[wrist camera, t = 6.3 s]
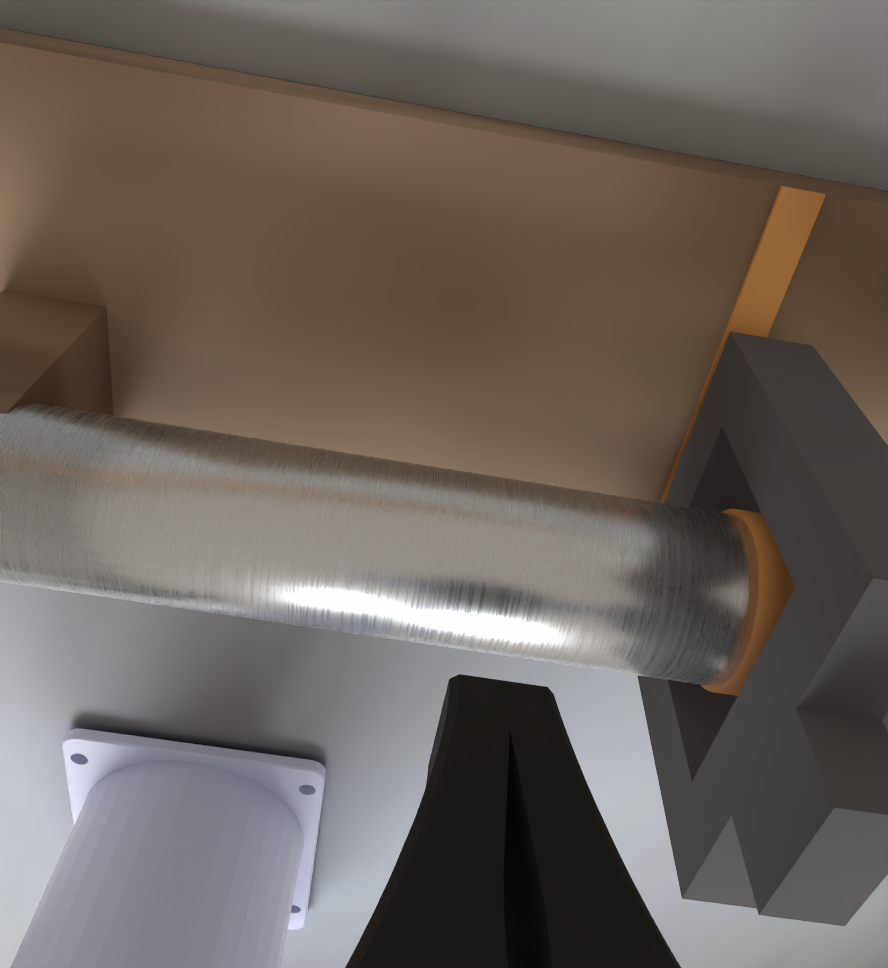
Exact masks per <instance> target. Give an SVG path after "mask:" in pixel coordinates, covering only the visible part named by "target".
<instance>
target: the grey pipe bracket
mask: <svg viewBox="0 0 888 968" xmlns="http://www.w3.org/2000/svg"><path fill="white" fill-rule="evenodd" d="M664 503H665V504H671V505H677V506H684V507H690V508H696V509H703V510H709V511H715V512H723V511H725V510H727V509H739V510H745V511H752V512H758V513H762V515H763V517H764V519H765V521H766V523H767V526H768V528H769V530H770V532H771V534H772V537H773V539H774V541H775V543H776V545H777V547H778V550H779V552H780V554H781V556H782V558H783V561H784V563H785V565H786V567H787V569H788V571H789V574H790V576H791V578H792V580H793V582H794V584H795V589H794V591H793V593H792V595H791V597H790V599H789V601H788V602H787V604H786V606H785V608H784V610H783V612H782V614H781V616H780V617H779V619H778V621H777V623H776V625H775V627H774V629H773V631H772V632H771V634H770V636H769V638H768V640H767V642H766V644H765V646H764V648H763V649H762V651H761V653H760V655H759V657H758V659H757V661H756V663H755V664H754V666H753V668H752V670H751V672H750V674H749V676H748V678H747V679H746V681H745V683H744V685H743V687H742V689H741V691H740V693H739V694H738V696H735V695H728V694H722V693H715V692H710V691H707V690H706V689H704V688H703V687H702V686H701V685H700V684H694V683H687V682H681V681H674V680H667V679H660V678H653V677H647V676H640V675H638V680H639V685H640V690H641V695H642V700H643V705H644V710H645V715H646V720H647V725H648V730H649V735H650V740H651V745H652V750H653V755H654V760H655V765H656V770H657V775H658V780H659V785H660V790H661V795H662V800H663V805H664V810H665V815H666V820H667V825H668V830H669V835H670V840H671V845H672V850H673V855H674V860H675V865H676V870H677V875H678V880H679V885H680V890H681V895H682V899H690V900H698V901H705V902H713V903H720V904H728V905H736V906H743V907H751V908H757V910H758V914H759V915H764V916H772V917H779V918H787V919H795V920H802V921H810V922H818V923H825V924H833V925H841V926H845V925H846V924H847V923H848V922H849V920H850V919H851V918H852V917H853V915H854V914H855V913H856V912H857V911H858V909H859V908H860V907H861V906H862V905H863V903H864V902H865V901H866V900H867V899H868V897H869V896H870V895H871V894H872V892H873V891H874V890H875V889H876V888H877V886H878V885H879V884H880V883H881V882H882V880H883V879H884V878H885V877H886V876H887V874H888V445H887V444H886V443H885V441H884V440H883V439H882V437H881V436H880V435H879V433H878V432H877V431H876V429H875V428H874V427H873V425H872V424H871V423H870V421H869V420H868V419H867V417H866V416H865V415H864V413H863V412H862V411H861V409H860V408H859V407H858V405H857V404H856V403H855V401H854V400H853V399H852V397H851V396H850V395H849V393H848V392H847V391H846V389H845V388H844V387H843V385H842V384H841V383H840V381H839V380H838V379H837V377H836V376H835V375H834V373H833V372H832V371H831V369H830V368H829V367H828V365H827V364H826V363H825V361H824V360H823V359H822V357H821V356H820V355H819V353H818V352H817V351H816V349H815V348H814V347H813V346H812V345H806V344H800V343H795V342H789V341H783V340H777V339H771V338H766V337H760V336H754V335H748V334H742V333H737V332H731V331H730V332H729V335H728V338H727V340H726V343H725V345H724V348H723V351H722V353H721V356H720V358H719V361H718V364H717V366H716V369H715V371H714V374H713V377H712V379H711V382H710V384H709V387H708V390H707V392H706V395H705V397H704V400H703V403H702V405H701V408H700V410H699V413H698V416H697V418H696V421H695V423H694V426H693V428H692V431H691V434H690V436H689V439H688V441H687V444H686V447H685V449H684V452H683V454H682V457H681V460H680V462H679V465H678V467H677V470H676V473H675V475H674V478H673V480H672V483H671V486H670V488H669V491H668V493H667V496H666V499H665V501H664Z"/></svg>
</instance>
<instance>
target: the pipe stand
mask: <svg viewBox="0 0 888 968" xmlns="http://www.w3.org/2000/svg"><path fill="white" fill-rule="evenodd" d="M730 331H731V332H737V333H742V334H748V335H754V336H760V337H766V338H771V339H777V340H783V341H789V342H795V343H800V344H806V345H812V346H813V347H814V348H815V349H816V351H817V352H818V353H819V355H820V356H821V357H822V359H823V360H824V361H825V363H826V364H827V365H828V367H829V368H830V369H831V371H832V372H833V373H834V375H835V376H836V377H837V379H838V380H839V381H840V383H841V384H842V385H843V387H844V388H845V389H846V391H847V392H848V393H849V395H850V396H851V397H852V399H853V400H854V401H855V403H856V404H857V405H858V407H859V408H860V409H861V411H862V412H863V413H864V415H865V416H866V417H867V419H868V420H869V421H870V423H871V424H872V425H873V427H874V428H875V429H876V431H877V432H878V433H879V435H880V436H881V437H882V439H883V440H884V441H885V443H886V444H887V445H888V192H887V191H881V190H876V189H870V188H865V187H860V186H854V185H849V184H843V183H838V182H833V181H827V180H822V179H816V178H811V177H805V176H800V175H795V174H789V173H784V172H778V171H773V170H768V169H762V168H757V167H751V166H746V165H740V164H735V163H730V162H724V161H719V160H713V159H708V158H703V157H697V156H692V155H686V154H681V153H675V152H670V151H665V150H659V149H654V148H648V147H643V146H638V145H632V144H627V143H621V142H616V141H611V140H605V139H600V138H594V137H589V136H583V135H578V134H573V133H567V132H562V131H556V130H551V129H546V128H540V127H535V126H529V125H524V124H518V123H513V122H508V121H502V120H497V119H491V118H486V117H481V116H475V115H470V114H464V113H459V112H453V111H448V110H443V109H437V108H432V107H426V106H421V105H416V104H410V103H405V102H399V101H394V100H388V99H383V98H378V97H372V96H367V95H361V94H356V93H351V92H345V91H340V90H334V89H329V88H323V87H318V86H313V85H307V84H302V83H296V82H291V81H286V80H280V79H275V78H269V77H264V76H259V75H253V74H248V73H242V72H237V71H231V70H226V69H221V68H215V67H210V66H204V65H199V64H194V63H188V62H183V61H177V60H172V59H166V58H161V57H156V56H150V55H145V54H139V53H134V52H129V51H123V50H118V49H112V48H107V47H101V46H96V45H91V44H85V43H80V42H74V41H69V40H64V39H58V38H53V37H47V36H42V35H36V34H31V33H26V32H20V31H15V30H9V29H4V28H0V582H5V583H12V584H19V585H26V586H32V587H39V588H46V589H53V590H60V591H67V592H73V593H80V594H87V595H94V596H101V597H108V598H114V599H121V600H128V601H135V602H142V603H148V604H155V605H162V606H169V607H176V608H183V609H189V610H196V611H203V612H210V613H217V614H224V615H230V616H237V617H244V618H251V619H258V620H264V621H271V622H278V623H285V624H292V625H299V626H305V627H312V628H319V629H326V630H333V631H340V632H346V633H353V634H360V635H367V636H374V637H380V638H387V639H394V640H401V641H408V642H415V643H421V644H428V645H435V646H442V647H449V648H456V649H462V650H469V651H476V652H483V653H490V654H496V655H503V656H510V657H517V658H524V659H531V660H537V661H544V662H551V663H558V664H565V665H571V666H578V667H585V668H592V669H599V670H606V671H612V672H619V673H626V674H633V675H640V676H647V677H653V678H660V679H667V680H674V681H681V682H687V683H694V684H700V685H701V686H702V687H703V688H704V689H706V690H707V691H710V692H715V693H722V694H728V695H735V696H738V694H739V693H740V691H741V689H742V687H743V685H744V683H745V681H746V679H747V678H748V676H749V674H750V672H751V670H752V668H753V666H754V664H755V663H756V661H757V659H758V657H759V655H760V653H761V651H762V649H763V648H764V646H765V644H766V642H767V640H768V638H769V636H770V634H771V632H772V631H773V629H774V627H775V625H776V623H777V621H778V619H779V617H780V616H781V614H782V612H783V610H784V608H785V606H786V604H787V602H788V601H789V599H790V597H791V595H792V593H793V591H794V589H795V584H794V582H793V580H792V578H791V576H790V574H789V571H788V569H787V567H786V565H785V563H784V561H783V558H782V556H781V554H780V552H779V550H778V547H777V545H776V543H775V541H774V539H773V537H772V534H771V532H770V530H769V528H768V526H767V523H766V521H765V519H764V517H763V515H762V513H758V512H752V511H745V510H739V509H727V510H725V511H723V512H715V511H709V510H703V509H696V508H690V507H684V506H677V505H671V504H665V503H664V501H665V499H666V496H667V493H668V491H669V488H670V486H671V483H672V480H673V478H674V475H675V473H676V470H677V467H678V465H679V462H680V460H681V457H682V454H683V452H684V449H685V447H686V444H687V441H688V439H689V436H690V434H691V431H692V428H693V426H694V423H695V421H696V418H697V416H698V413H699V410H700V408H701V405H702V403H703V400H704V397H705V395H706V392H707V390H708V387H709V384H710V382H711V379H712V377H713V374H714V371H715V369H716V366H717V364H718V361H719V358H720V356H721V353H722V351H723V348H724V345H725V343H726V340H727V338H728V335H729V332H730Z"/></svg>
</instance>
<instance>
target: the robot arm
mask: <svg viewBox="0 0 888 968" xmlns="http://www.w3.org/2000/svg"><path fill="white" fill-rule="evenodd" d="M62 749H63V756H64V763H65V770H66V777H67V784H68V791H69V798H70V805H71V812H72V818H73V825H74V827H73V829H72V832H71V834H70V836H69V838H68V841H67V843H66V845H65V847H64V849H63V852H62V854H61V856H60V858H59V861H58V863H57V865H56V867H55V870H54V872H53V874H52V876H51V879H50V881H49V883H48V885H47V887H46V890H45V892H44V894H43V896H42V899H41V901H40V903H39V905H38V908H37V910H36V912H35V914H34V917H33V919H32V921H31V923H30V925H29V928H28V930H27V932H26V934H25V937H24V939H23V941H22V943H21V946H20V948H19V950H18V952H17V955H16V957H15V959H14V961H13V963H12V966H11V968H280V965H281V960H282V954H283V949H284V944H285V939H286V934H287V930H299V929H301V928H303V927H304V926H305V924H306V918H307V911H308V904H309V896H310V889H311V881H312V874H313V867H314V859H315V852H316V844H317V837H318V829H319V822H320V815H321V807H322V800H323V792H324V785H325V778H326V769H325V767H324V766H323V765H322V764H320V763H319V762H317V761H313V760H308V759H300V758H293V757H286V756H279V755H271V754H264V753H257V752H249V751H242V750H235V749H228V748H220V747H213V746H206V745H198V744H191V743H184V742H177V741H169V740H162V739H155V738H147V737H140V736H133V735H126V734H118V733H111V732H104V731H96V730H89V729H79V728H76V729H72V730H70V731H69V732H68V733H67V734H66V736H65V738H64V740H63V742H62ZM346 968H681V967H680V965H679V964H678V962H677V960H676V959H675V957H674V955H673V953H672V952H671V950H670V948H669V947H668V945H667V943H666V941H665V940H664V938H663V936H662V934H661V933H660V931H659V929H658V927H657V925H656V924H655V922H654V920H653V918H652V916H651V915H650V913H649V911H648V909H647V907H646V905H645V903H644V901H643V899H642V897H641V896H640V894H639V892H638V890H637V888H636V886H635V884H634V882H633V880H632V879H631V877H630V875H629V873H628V871H627V869H626V867H625V865H624V863H623V861H622V859H621V857H620V855H619V852H618V850H617V848H616V846H615V844H614V842H613V840H612V838H611V836H610V833H609V831H608V829H607V827H606V825H605V823H604V820H603V818H602V816H601V814H600V812H599V810H598V807H597V805H596V803H595V801H594V799H593V796H592V794H591V792H590V789H589V787H588V785H587V782H586V780H585V778H584V775H583V773H582V770H581V768H580V765H579V763H578V760H577V758H576V755H575V753H574V750H573V748H572V745H571V743H570V740H569V737H568V735H567V732H566V729H565V727H564V724H563V721H562V718H561V715H560V712H559V709H558V706H557V703H556V700H555V697H554V694H553V693H552V692H551V690H550V689H549V688H548V687H543V686H536V685H529V684H522V683H516V682H509V681H502V680H495V679H488V678H481V677H474V676H467V675H460V674H459V675H457V676H455V677H453V678H451V679H449V683H448V687H447V691H446V695H445V699H444V703H443V707H442V711H441V716H440V720H439V724H438V728H437V732H436V736H435V740H434V745H433V749H432V753H431V757H430V761H429V767H428V775H427V783H426V789H425V792H424V795H423V798H422V801H421V804H420V806H419V809H418V812H417V814H416V817H415V820H414V822H413V824H412V827H411V829H410V832H409V834H408V836H407V839H406V841H405V843H404V846H403V848H402V851H401V853H400V855H399V858H398V860H397V863H396V865H395V867H394V870H393V872H392V874H391V876H390V879H389V881H388V883H387V885H386V887H385V889H384V892H383V894H382V896H381V898H380V900H379V902H378V904H377V906H376V909H375V911H374V913H373V915H372V917H371V919H370V921H369V923H368V925H367V927H366V929H365V931H364V933H363V935H362V937H361V939H360V941H359V943H358V945H357V947H356V949H355V951H354V953H353V954H352V956H351V958H350V960H349V962H348V964H347V966H346Z"/></svg>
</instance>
